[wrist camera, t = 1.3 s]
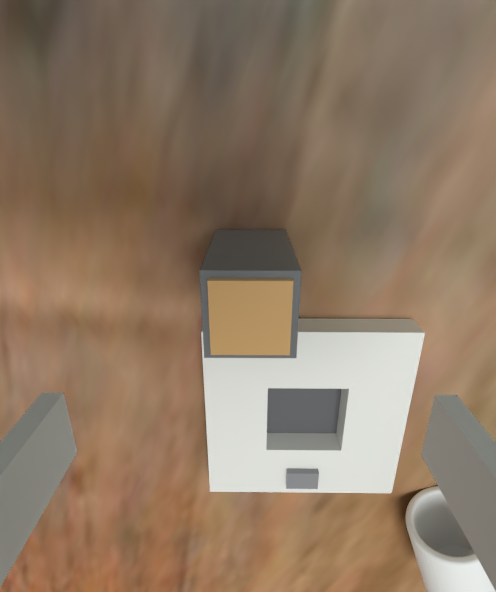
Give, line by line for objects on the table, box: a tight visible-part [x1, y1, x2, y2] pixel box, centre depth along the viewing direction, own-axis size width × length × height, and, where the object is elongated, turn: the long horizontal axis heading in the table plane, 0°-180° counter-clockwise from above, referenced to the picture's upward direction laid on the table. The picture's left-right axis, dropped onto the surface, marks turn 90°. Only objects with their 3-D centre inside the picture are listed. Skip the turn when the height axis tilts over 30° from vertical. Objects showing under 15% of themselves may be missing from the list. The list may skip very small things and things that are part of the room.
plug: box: [199, 230, 301, 358], centre depth 25 cm, size 6×6×10 cm
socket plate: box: [201, 318, 425, 493], centre depth 34 cm, size 18×18×3 cm
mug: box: [405, 486, 496, 592], centre depth 38 cm, size 12×10×8 cm
